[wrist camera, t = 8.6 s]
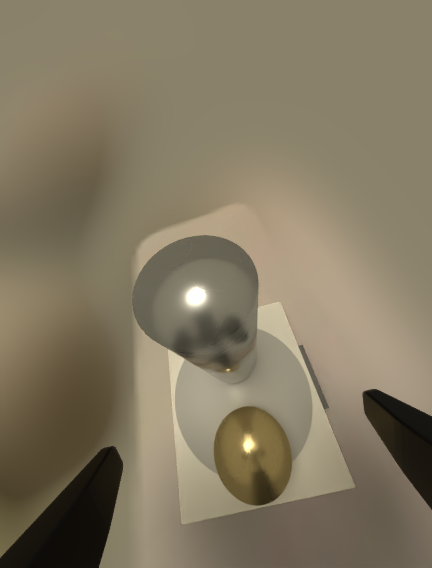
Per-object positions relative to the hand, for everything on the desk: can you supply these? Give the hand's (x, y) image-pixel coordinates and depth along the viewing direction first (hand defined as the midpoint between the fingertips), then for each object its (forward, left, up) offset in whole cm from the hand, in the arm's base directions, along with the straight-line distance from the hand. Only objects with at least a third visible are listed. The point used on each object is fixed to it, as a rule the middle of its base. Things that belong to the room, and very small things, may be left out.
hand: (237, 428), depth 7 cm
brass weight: (-2, 0, -10) cm, 10 cm away
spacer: (+4, 0, -10) cm, 11 cm away
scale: (+2, 0, -13) cm, 13 cm away
